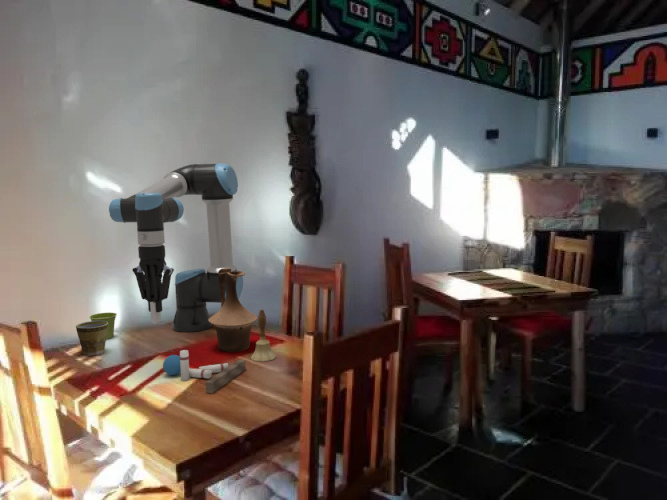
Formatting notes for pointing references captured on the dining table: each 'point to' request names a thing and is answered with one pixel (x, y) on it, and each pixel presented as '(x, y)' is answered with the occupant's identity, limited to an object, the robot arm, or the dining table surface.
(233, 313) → the pitcher
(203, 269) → the robot arm
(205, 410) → the dining table surface
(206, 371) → the front pin
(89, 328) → the ceramic cup
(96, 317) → the plant pot
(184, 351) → the pin
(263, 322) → the hand bell
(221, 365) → the pin
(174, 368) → the ball
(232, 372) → the back wall
